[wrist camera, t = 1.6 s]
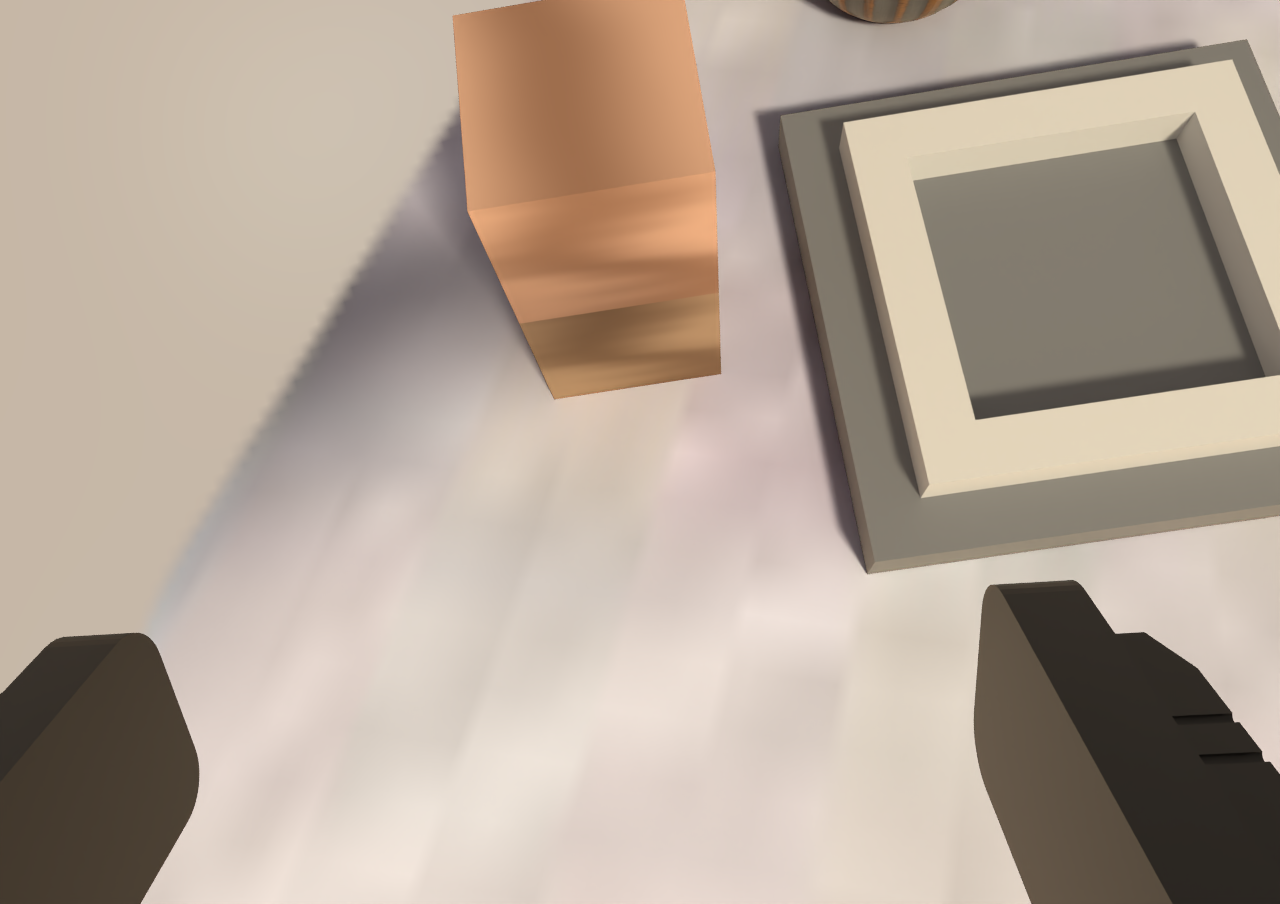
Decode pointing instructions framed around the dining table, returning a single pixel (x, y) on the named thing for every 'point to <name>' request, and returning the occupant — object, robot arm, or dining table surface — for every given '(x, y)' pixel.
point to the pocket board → (1048, 303)
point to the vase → (891, 9)
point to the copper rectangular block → (594, 186)
